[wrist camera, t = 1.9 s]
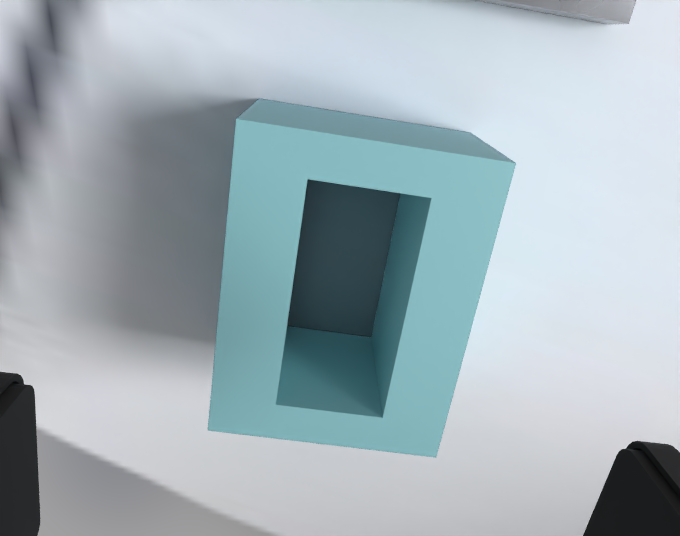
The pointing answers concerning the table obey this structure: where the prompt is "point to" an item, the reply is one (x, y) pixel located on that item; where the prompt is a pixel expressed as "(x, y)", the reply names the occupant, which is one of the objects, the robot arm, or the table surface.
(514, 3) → the key base
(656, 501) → the robot arm
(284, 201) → the block with rectangular hole
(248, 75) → the table surface
